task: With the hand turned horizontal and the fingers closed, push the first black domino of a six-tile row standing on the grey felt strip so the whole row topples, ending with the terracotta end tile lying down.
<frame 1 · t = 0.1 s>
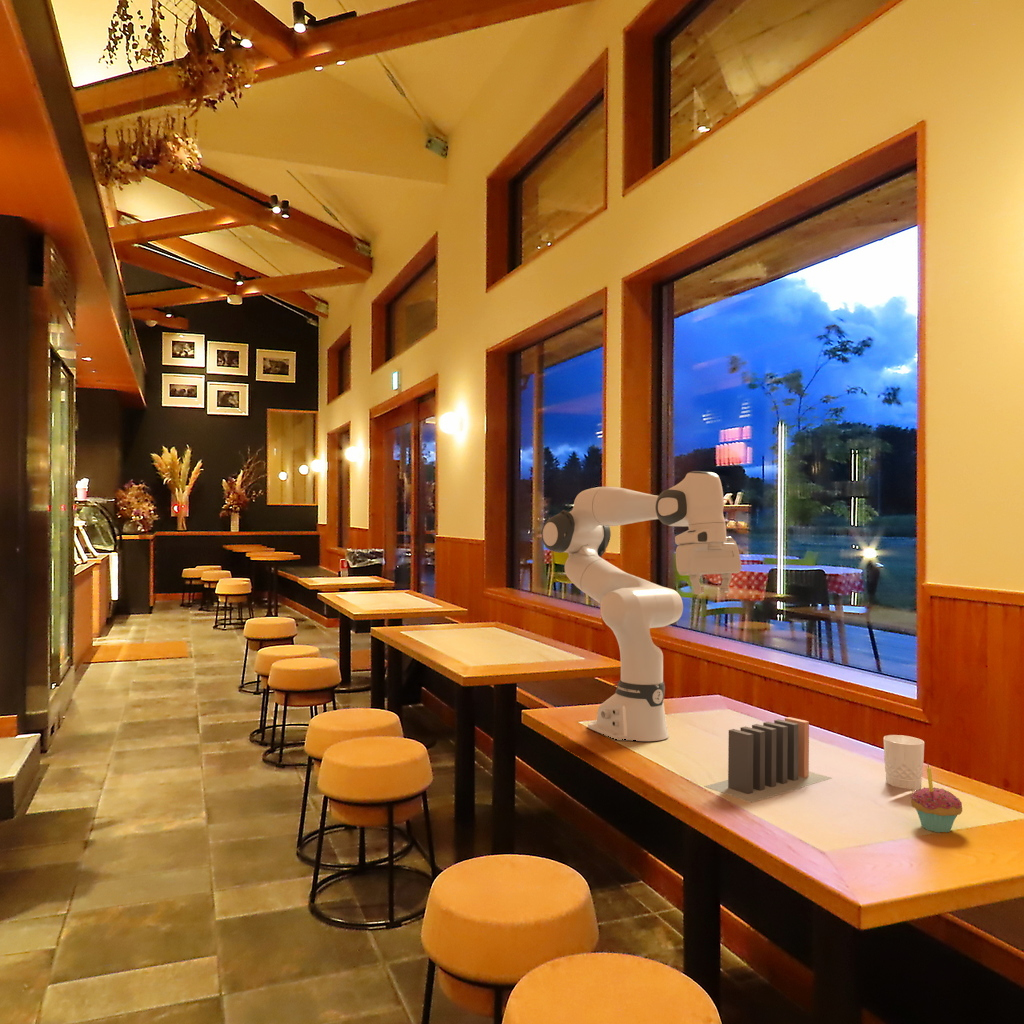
hand: (712, 593, 196), 39 cm above the table, tool pointing down, fingers open, 8 cm apart
domino 6: (796, 774, 180), point 1 cm above the table, touching felt strip
domino 2: (752, 786, 170), point 1 cm above the table, touching felt strip
felt strip: (769, 784, 174), on the table
cupcake: (935, 828, 150), on the table
domino 4: (774, 780, 175), point 1 cm above the table, touching felt strip
domino 5: (785, 777, 177), point 1 cm above the table, touching felt strip
white cup: (903, 787, 174), on the table
domino 3: (763, 783, 173), point 1 cm above the table, touching felt strip
domino 1: (740, 790, 168), point 1 cm above the table, touching felt strip
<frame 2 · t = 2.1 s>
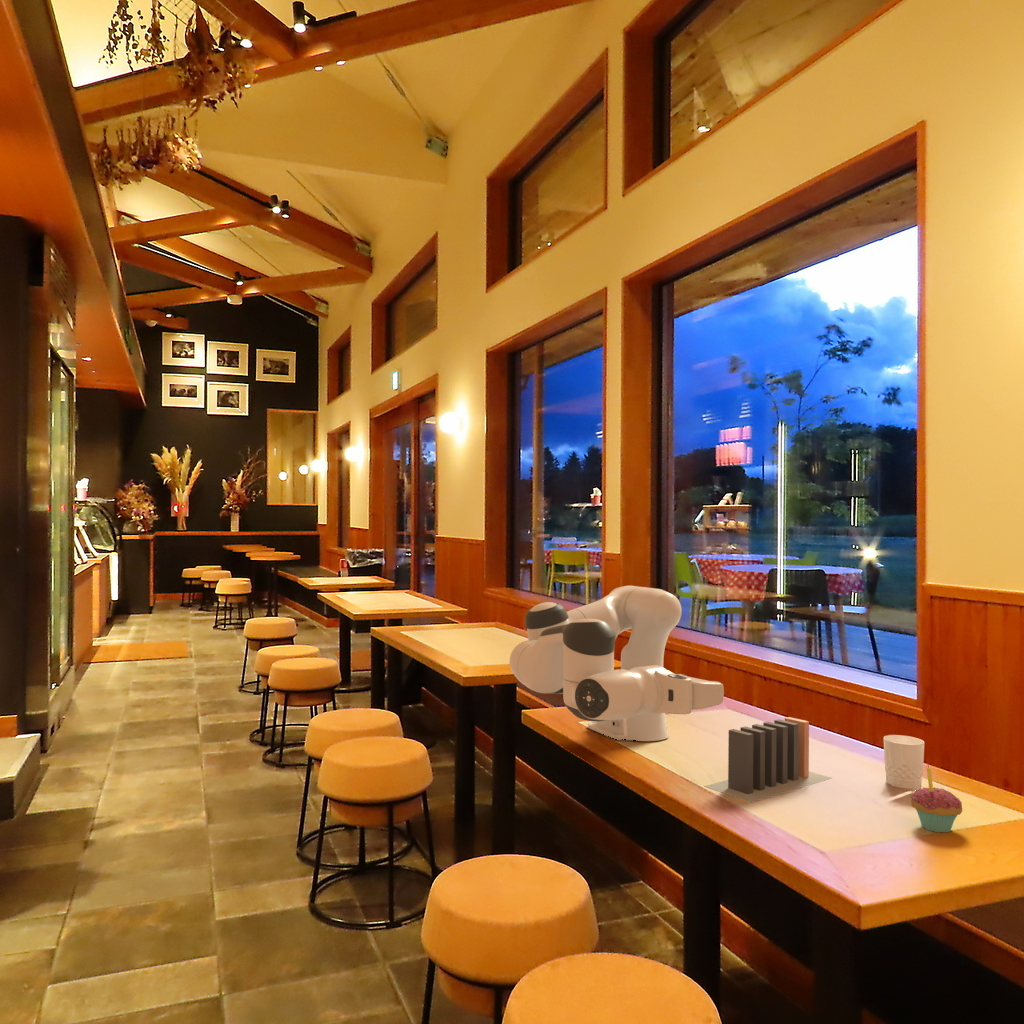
hand: (700, 682, 161), 24 cm above the table, tool horizontal, fingers open, 7 cm apart
nothing on the table moved.
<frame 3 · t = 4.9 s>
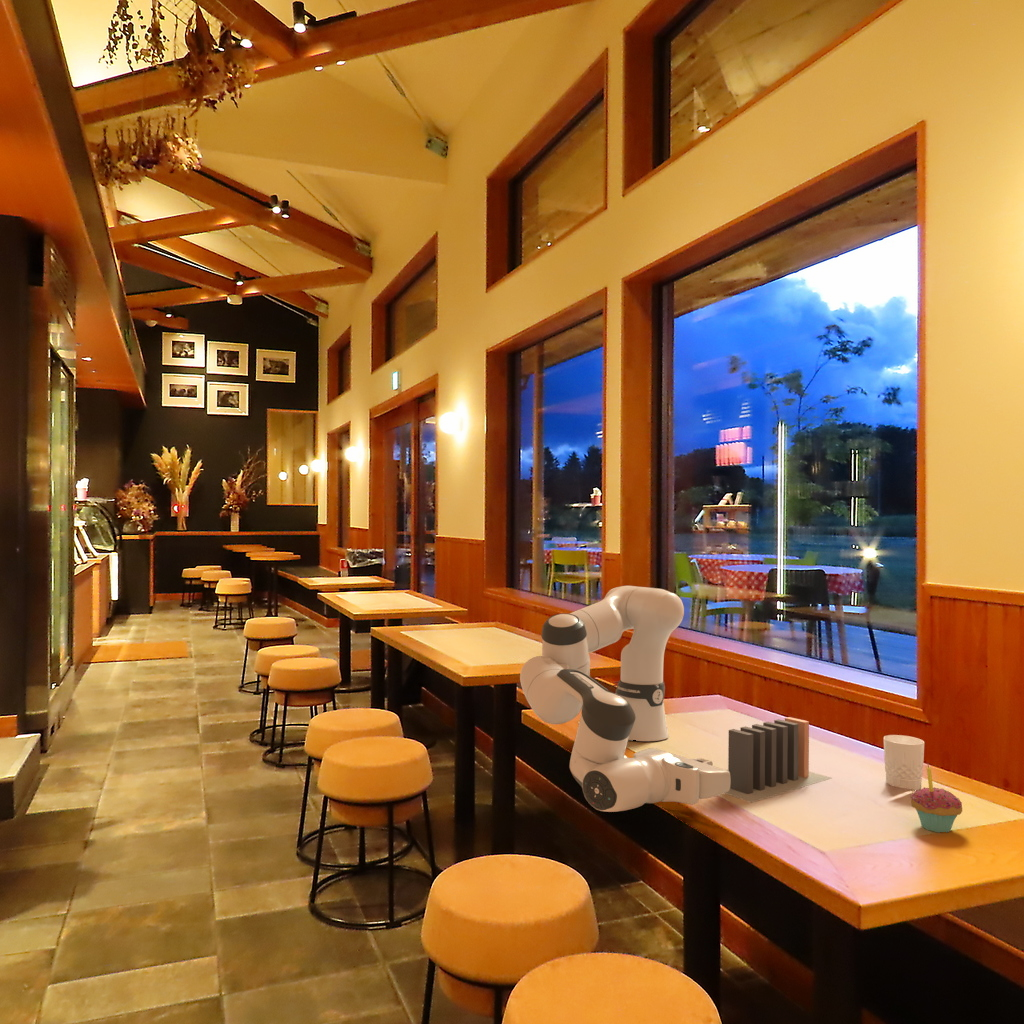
hand: (706, 763, 161), 8 cm above the table, tool horizontal, fingers closed
nothing on the table moved.
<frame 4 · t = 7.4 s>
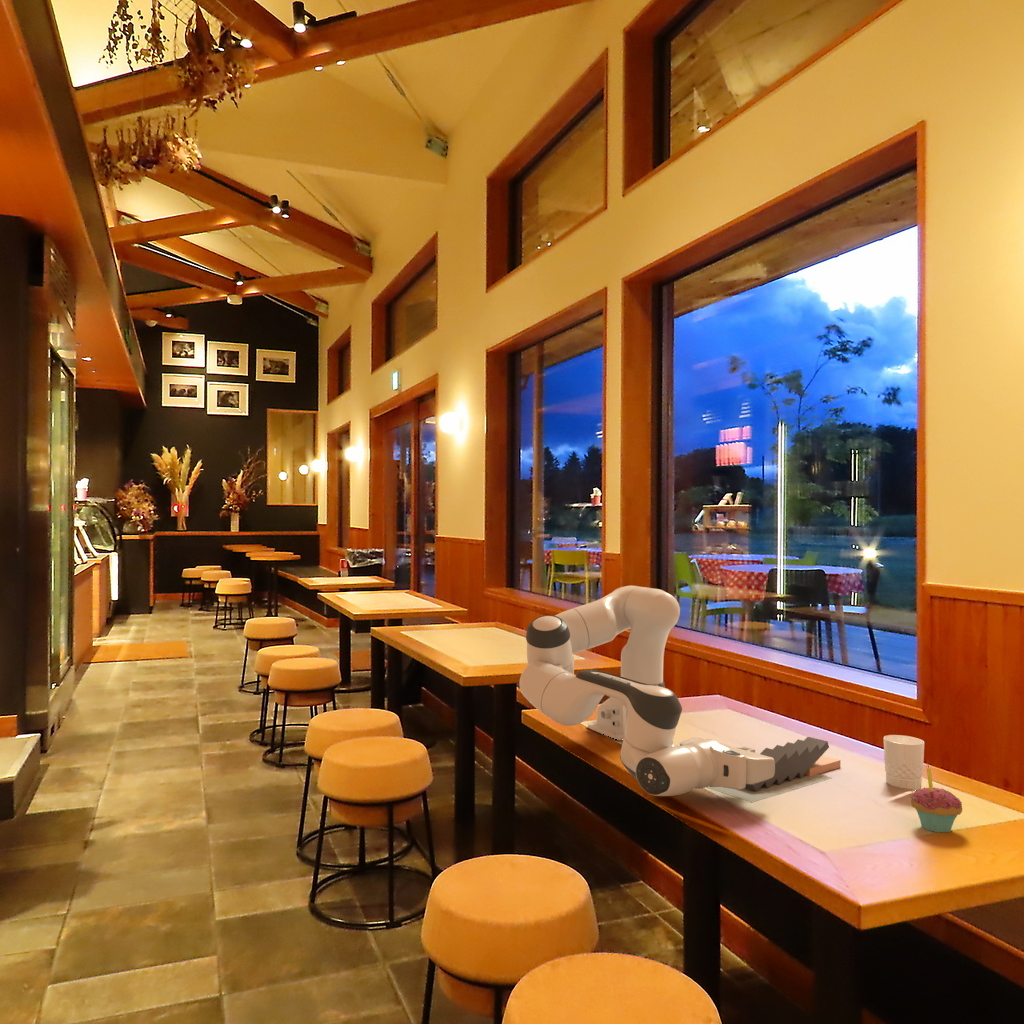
hand: (749, 751, 170), 8 cm above the table, tool horizontal, fingers closed
domino 6: (799, 769, 180), point 1 cm above the table, tilted 90°, touching domino 5, felt strip
domino 2: (756, 782, 171), point 1 cm above the table, tilted 65°, touching domino 1, domino 3, felt strip
domino 4: (779, 775, 176), point 1 cm above the table, tilted 65°, touching domino 3, domino 5
domino 5: (789, 772, 178), point 1 cm above the table, tilted 65°, touching domino 4, domino 6
domino 3: (768, 779, 174), point 1 cm above the table, tilted 65°, touching domino 2, domino 4, felt strip
domino 1: (744, 785, 169), point 1 cm above the table, tilted 66°, touching domino 2, felt strip
everything else where it was.
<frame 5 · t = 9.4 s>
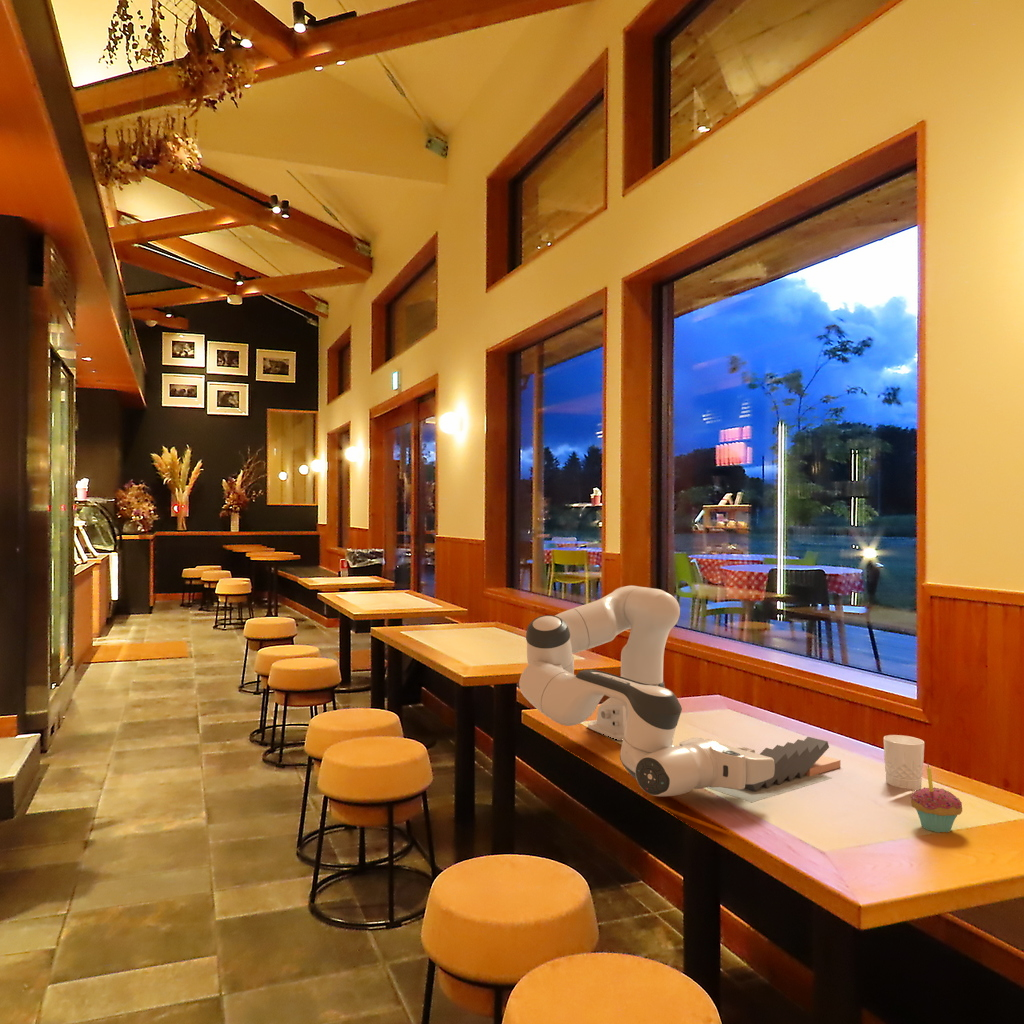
hand: (749, 752, 170), 8 cm above the table, tool horizontal, fingers closed
nothing on the table moved.
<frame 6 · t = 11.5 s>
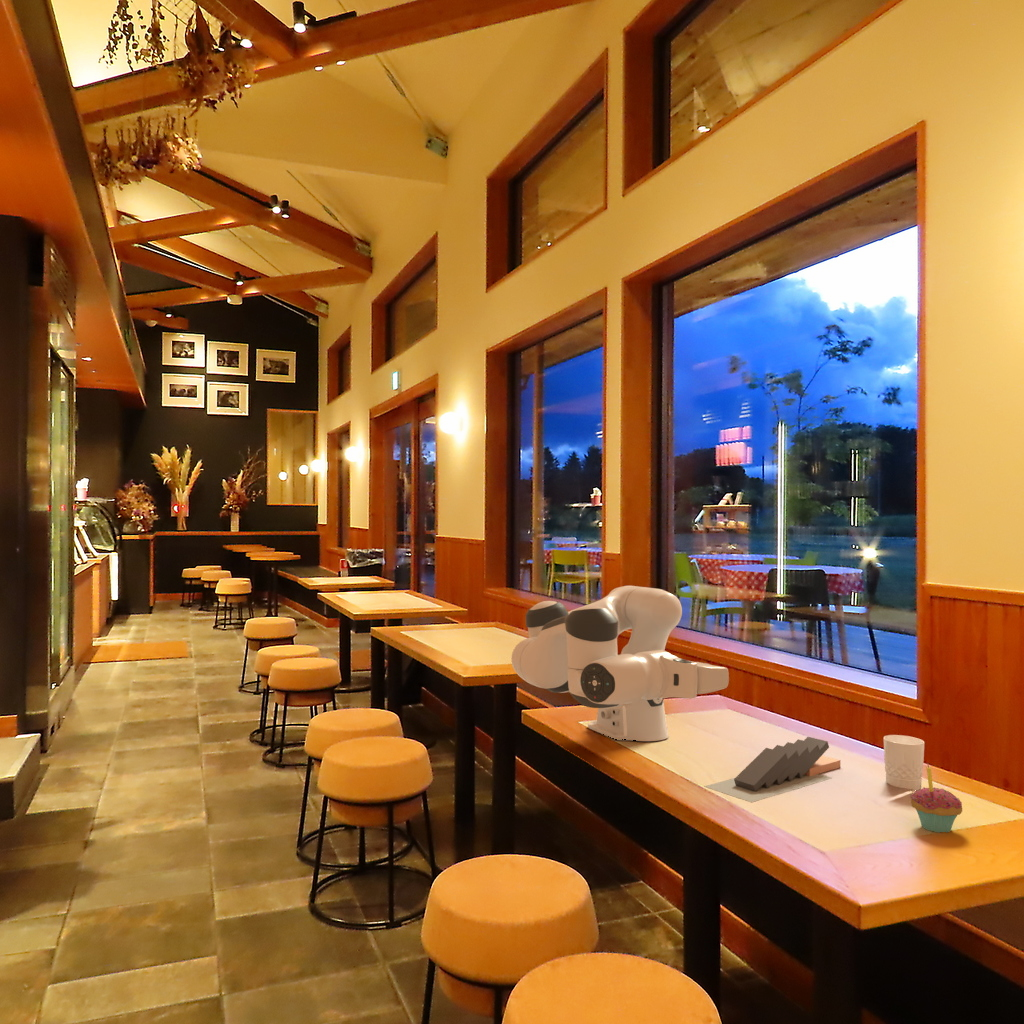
hand: (704, 667, 161), 27 cm above the table, tool horizontal, fingers closed
nothing on the table moved.
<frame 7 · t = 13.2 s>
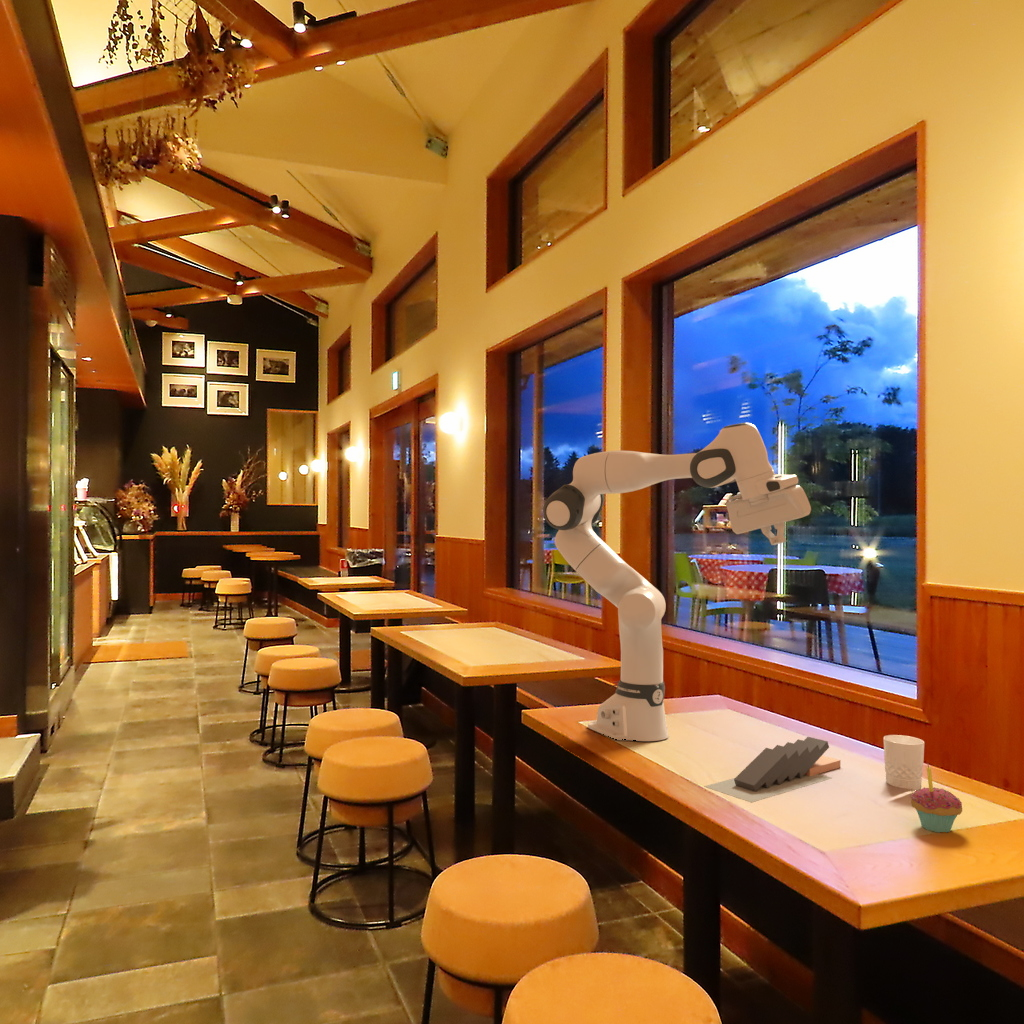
hand: (778, 543, 191), 51 cm above the table, tool tilted 20°, fingers closed
nothing on the table moved.
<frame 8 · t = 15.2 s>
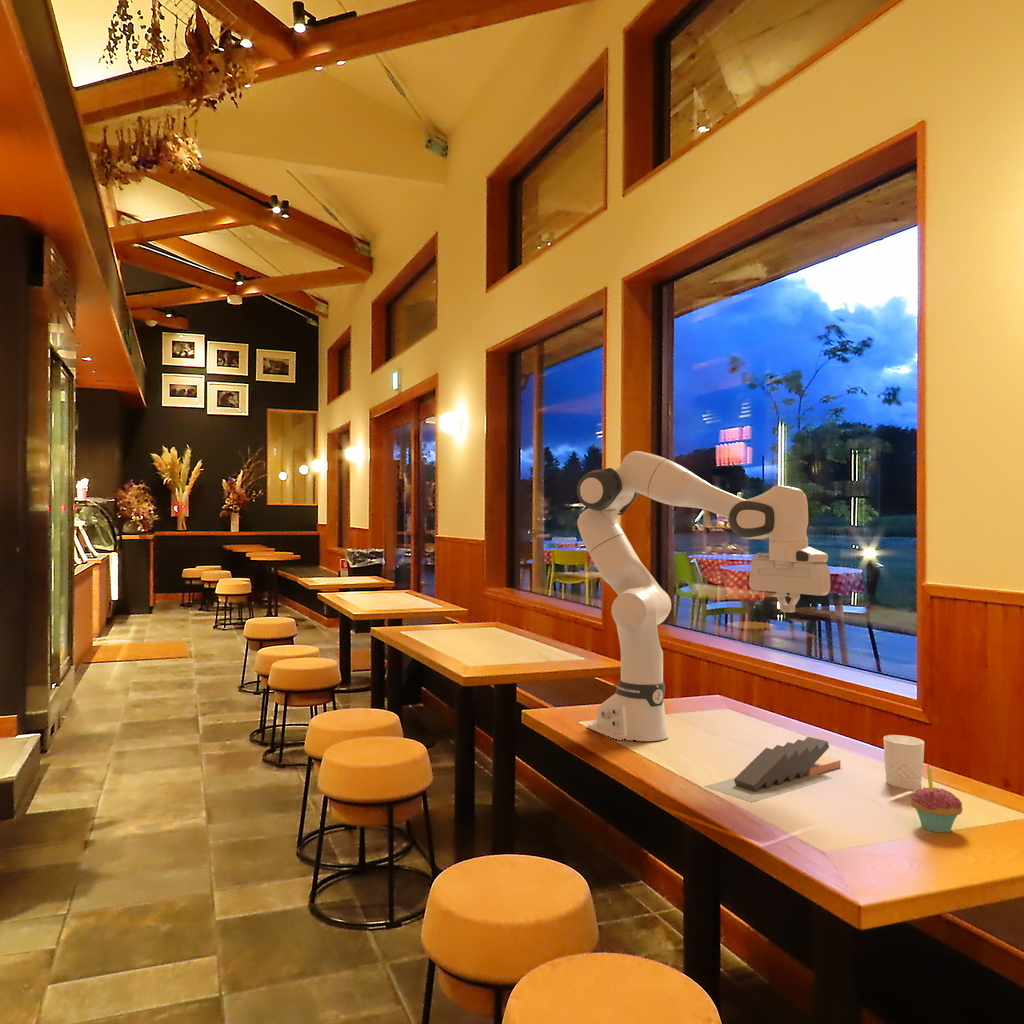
hand: (787, 611, 193), 35 cm above the table, tool pointing down, fingers closed
nothing on the table moved.
at the end: domino 6 tilted 90°; domino 1 tilted 66° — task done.
